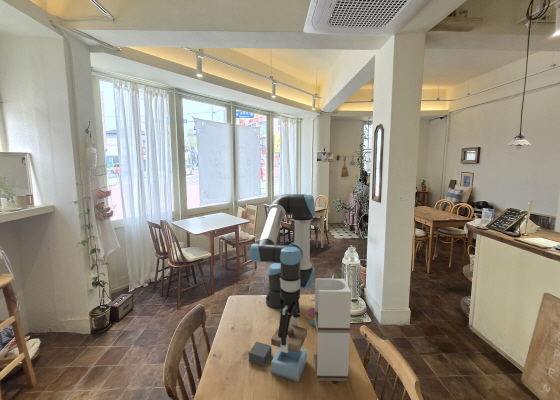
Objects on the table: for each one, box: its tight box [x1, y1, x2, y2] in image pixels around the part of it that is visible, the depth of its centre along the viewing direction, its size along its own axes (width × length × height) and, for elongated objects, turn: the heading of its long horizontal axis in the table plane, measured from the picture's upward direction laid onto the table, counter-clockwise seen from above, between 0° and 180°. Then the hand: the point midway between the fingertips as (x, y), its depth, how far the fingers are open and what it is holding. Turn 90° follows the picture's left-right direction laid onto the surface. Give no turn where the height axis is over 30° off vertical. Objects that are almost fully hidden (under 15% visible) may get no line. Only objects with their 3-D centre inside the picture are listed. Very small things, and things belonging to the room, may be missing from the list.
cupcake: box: [305, 307, 316, 326], centre depth 126 cm, size 9×8×12 cm
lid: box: [270, 323, 308, 353], centre depth 96 cm, size 11×11×4 cm
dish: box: [270, 347, 308, 384], centre depth 97 cm, size 11×11×5 cm
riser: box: [248, 341, 272, 367], centre depth 102 cm, size 7×7×4 cm
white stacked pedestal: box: [313, 277, 352, 382], centre depth 95 cm, size 11×11×35 cm
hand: (289, 341), depth 96 cm, fingers closed on lid, 11 cm apart
